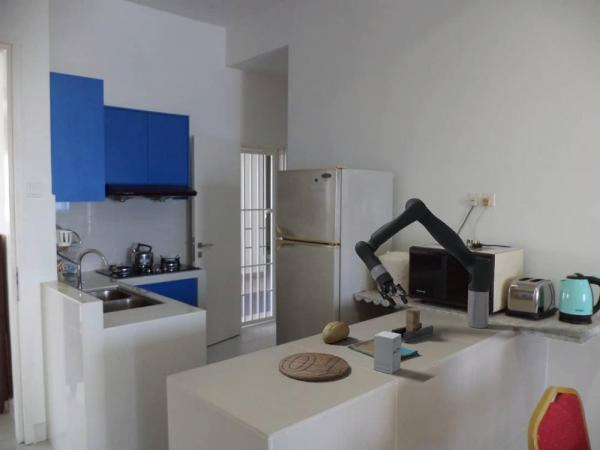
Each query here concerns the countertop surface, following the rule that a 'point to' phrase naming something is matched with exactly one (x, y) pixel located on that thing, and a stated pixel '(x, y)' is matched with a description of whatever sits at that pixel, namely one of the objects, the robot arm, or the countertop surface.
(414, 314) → the tan wooden pillar block
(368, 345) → the dish towel
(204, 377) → the countertop surface
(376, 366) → the supplement box
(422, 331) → the floor track
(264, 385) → the countertop surface
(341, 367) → the trivet
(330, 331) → the bread roll
